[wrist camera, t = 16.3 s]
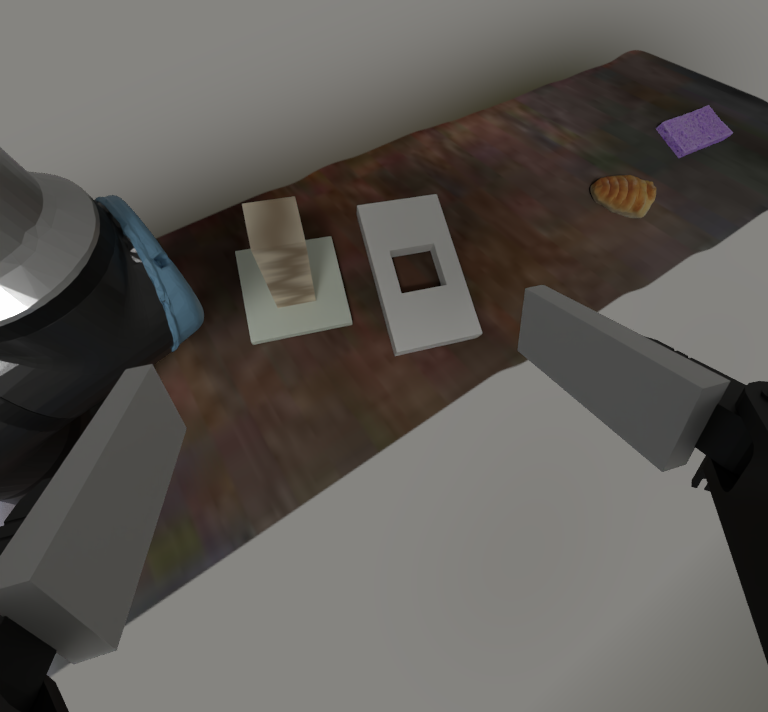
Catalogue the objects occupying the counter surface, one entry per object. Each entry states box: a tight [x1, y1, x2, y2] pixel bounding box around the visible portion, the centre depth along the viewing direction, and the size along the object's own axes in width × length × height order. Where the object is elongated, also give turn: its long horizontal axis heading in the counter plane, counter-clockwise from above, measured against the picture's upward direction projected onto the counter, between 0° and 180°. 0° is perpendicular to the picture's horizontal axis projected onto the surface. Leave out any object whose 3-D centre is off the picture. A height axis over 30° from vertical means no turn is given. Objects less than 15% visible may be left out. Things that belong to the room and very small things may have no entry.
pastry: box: [590, 175, 656, 218], centre depth 56 cm, size 9×7×4 cm
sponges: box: [656, 105, 733, 158], centre depth 63 cm, size 7×13×2 cm, turn 117°
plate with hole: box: [357, 194, 482, 356], centre depth 49 cm, size 12×22×2 cm, turn 15°
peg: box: [242, 196, 316, 308], centre depth 40 cm, size 5×5×14 cm
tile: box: [235, 236, 352, 345], centre depth 47 cm, size 13×13×1 cm
